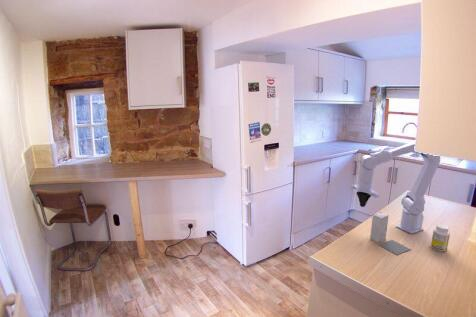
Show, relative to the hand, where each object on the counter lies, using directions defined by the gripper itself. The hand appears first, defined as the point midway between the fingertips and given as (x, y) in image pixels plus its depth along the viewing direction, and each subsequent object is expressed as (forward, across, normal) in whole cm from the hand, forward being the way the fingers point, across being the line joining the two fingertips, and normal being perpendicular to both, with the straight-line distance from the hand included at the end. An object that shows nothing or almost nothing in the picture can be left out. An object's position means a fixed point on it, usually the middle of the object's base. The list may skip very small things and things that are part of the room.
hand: (362, 206), depth 131 cm
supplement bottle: (+11, +29, +14) cm, 34 cm away
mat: (+10, +20, -3) cm, 23 cm away
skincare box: (+11, +12, -3) cm, 17 cm away
